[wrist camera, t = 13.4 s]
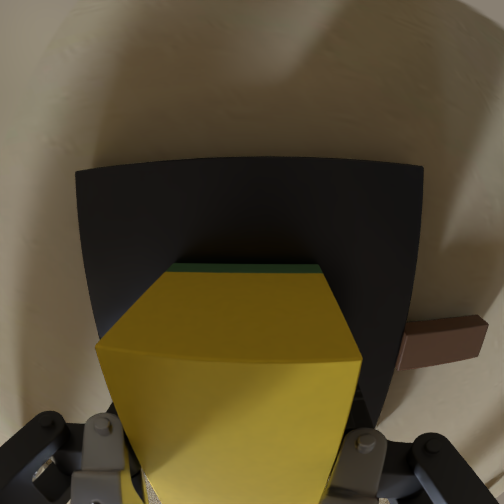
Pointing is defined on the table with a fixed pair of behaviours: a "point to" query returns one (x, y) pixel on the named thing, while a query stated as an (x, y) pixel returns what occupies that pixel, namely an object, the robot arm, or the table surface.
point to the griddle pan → (275, 243)
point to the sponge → (234, 382)
